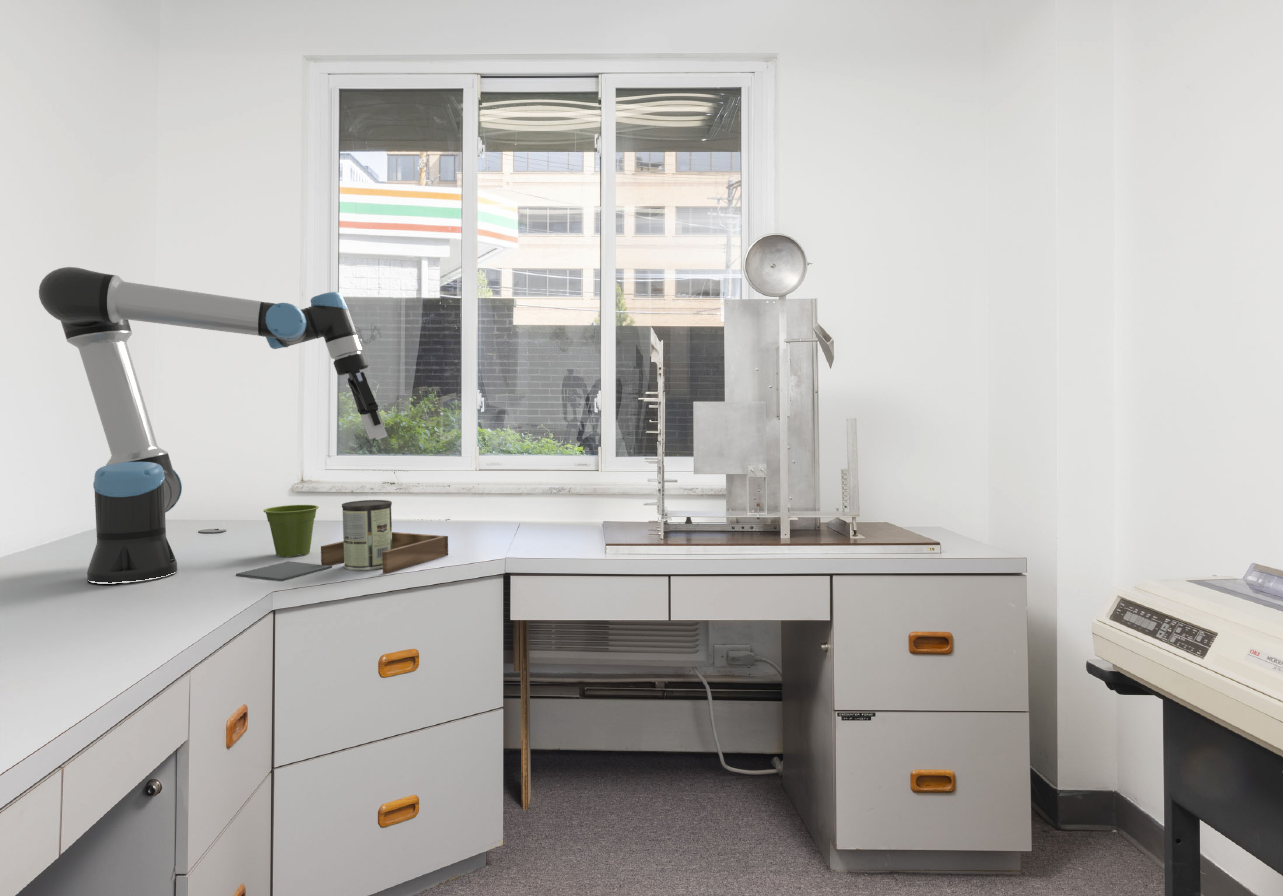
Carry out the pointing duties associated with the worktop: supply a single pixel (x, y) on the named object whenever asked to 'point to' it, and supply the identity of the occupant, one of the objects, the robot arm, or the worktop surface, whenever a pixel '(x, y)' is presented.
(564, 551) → the worktop surface
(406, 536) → the frame
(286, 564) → the slate mat
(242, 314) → the robot arm
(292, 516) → the plant pot
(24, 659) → the worktop surface
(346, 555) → the coffee can
